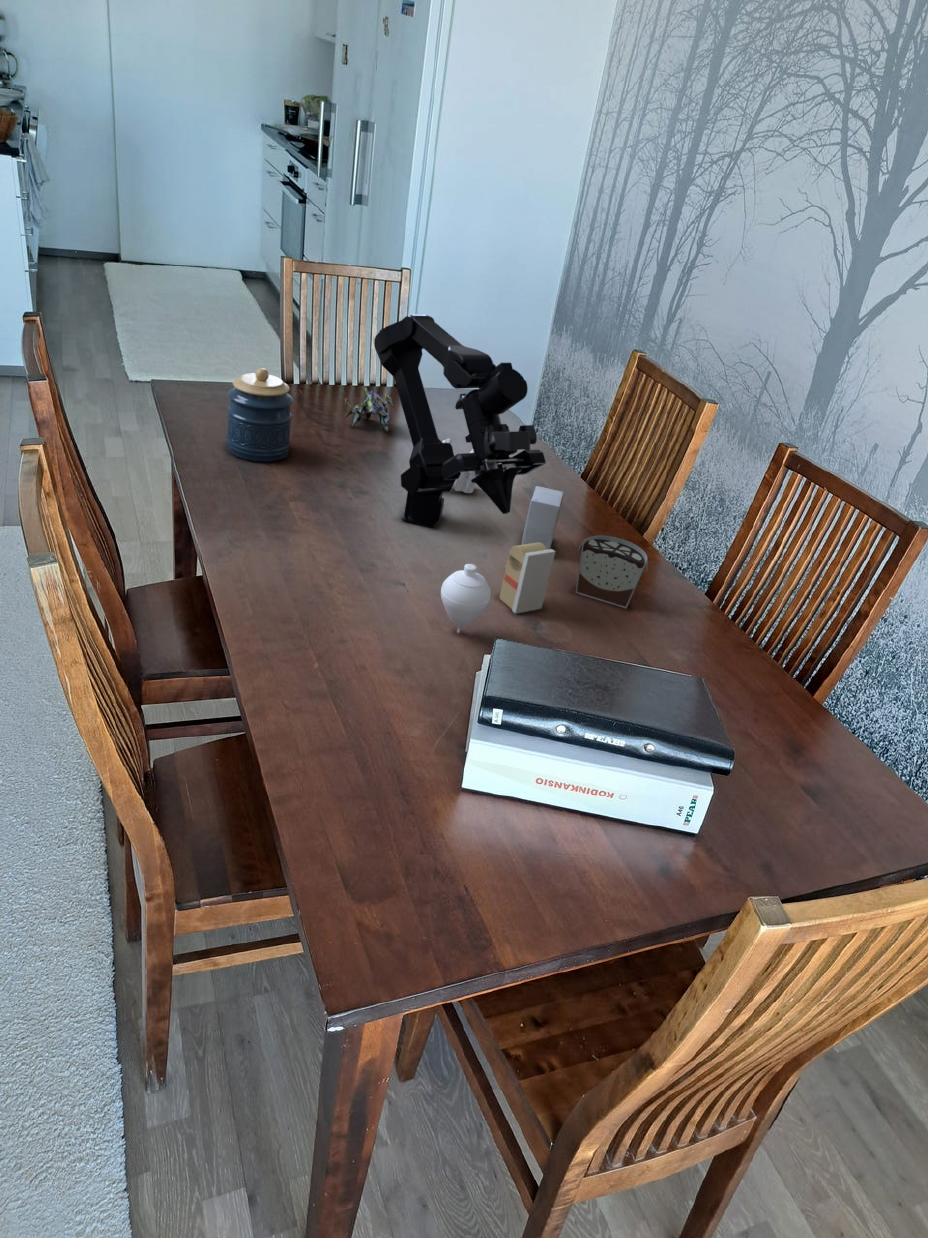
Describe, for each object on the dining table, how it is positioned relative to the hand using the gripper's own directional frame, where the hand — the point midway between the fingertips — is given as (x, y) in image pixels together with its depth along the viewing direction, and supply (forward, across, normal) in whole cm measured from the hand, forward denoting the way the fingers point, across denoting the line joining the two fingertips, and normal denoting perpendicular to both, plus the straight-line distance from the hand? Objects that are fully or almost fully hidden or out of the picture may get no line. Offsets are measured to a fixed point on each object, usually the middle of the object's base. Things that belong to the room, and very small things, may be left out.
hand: (506, 513), depth 152 cm
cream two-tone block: (+15, 0, +3) cm, 15 cm away
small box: (+4, +18, +14) cm, 23 cm away
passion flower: (-38, +17, +61) cm, 74 cm away
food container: (+17, +18, 0) cm, 24 cm away
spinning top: (+18, -16, 0) cm, 24 cm away
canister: (-32, -15, +56) cm, 66 cm away
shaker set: (-14, +16, +34) cm, 40 cm away
